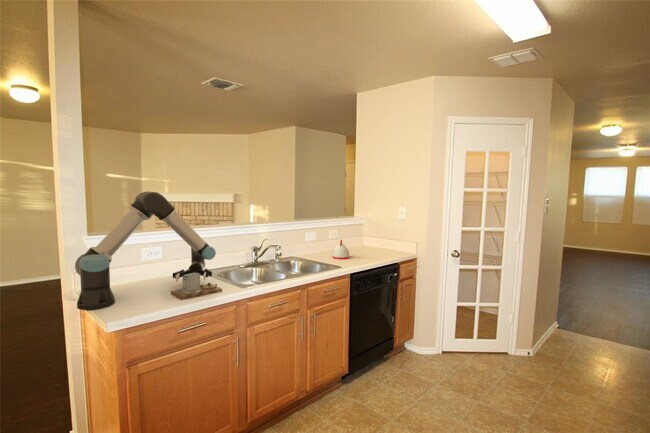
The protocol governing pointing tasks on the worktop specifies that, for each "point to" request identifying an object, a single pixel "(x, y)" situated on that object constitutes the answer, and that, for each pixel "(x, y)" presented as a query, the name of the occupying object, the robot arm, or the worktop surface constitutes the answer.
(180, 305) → the worktop surface
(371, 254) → the worktop surface
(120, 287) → the worktop surface
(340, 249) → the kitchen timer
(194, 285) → the medicine box
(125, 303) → the worktop surface
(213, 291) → the gear board
